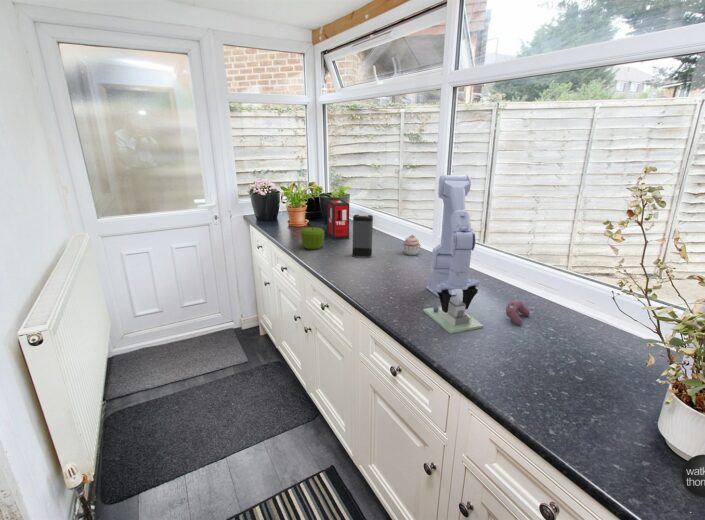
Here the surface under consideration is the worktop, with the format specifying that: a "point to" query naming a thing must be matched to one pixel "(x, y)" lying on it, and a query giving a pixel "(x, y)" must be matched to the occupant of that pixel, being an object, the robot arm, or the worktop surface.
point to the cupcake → (411, 245)
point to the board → (452, 320)
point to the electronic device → (362, 236)
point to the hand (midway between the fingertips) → (454, 309)
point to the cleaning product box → (338, 219)
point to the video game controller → (516, 311)
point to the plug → (456, 308)
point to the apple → (312, 237)
